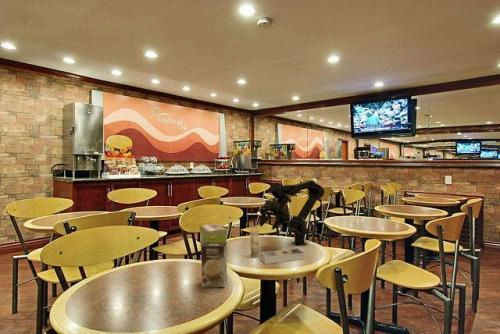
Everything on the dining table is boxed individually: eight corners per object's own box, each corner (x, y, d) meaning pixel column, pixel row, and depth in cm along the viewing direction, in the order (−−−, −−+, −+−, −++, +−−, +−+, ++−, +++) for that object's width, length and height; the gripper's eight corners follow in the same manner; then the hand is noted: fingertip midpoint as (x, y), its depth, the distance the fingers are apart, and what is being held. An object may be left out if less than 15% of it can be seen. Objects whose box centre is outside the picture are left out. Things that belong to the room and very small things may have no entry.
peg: (250, 255, 149) (249, 230, 148) (257, 254, 150) (257, 229, 150) (252, 258, 145) (251, 232, 145) (260, 257, 146) (259, 231, 146)
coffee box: (201, 287, 112) (199, 246, 112) (205, 281, 118) (204, 241, 118) (224, 288, 111) (223, 246, 111) (227, 281, 117) (226, 241, 117)
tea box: (200, 252, 156) (199, 224, 156) (218, 249, 161) (217, 222, 160) (208, 260, 143) (207, 230, 143) (227, 257, 147) (226, 228, 147)
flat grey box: (260, 258, 144) (260, 252, 144) (297, 254, 149) (297, 248, 149) (265, 263, 136) (265, 257, 136) (304, 259, 142) (304, 252, 142)
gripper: (260, 193, 162) (245, 216, 155) (285, 195, 147) (270, 221, 140) (271, 205, 167) (257, 228, 160) (296, 209, 152) (282, 234, 146)
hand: (266, 227), depth 151 cm, fingers open, 9 cm apart
